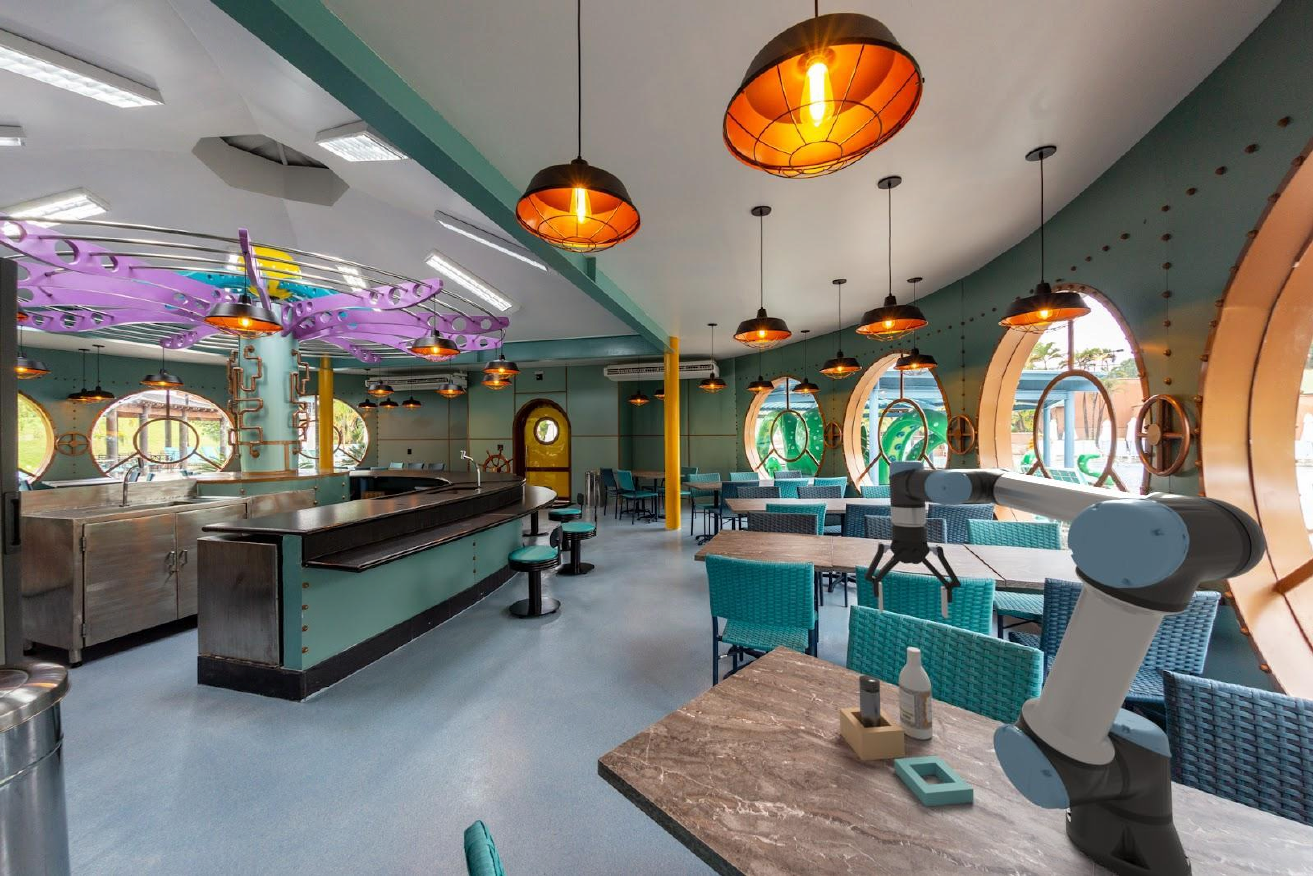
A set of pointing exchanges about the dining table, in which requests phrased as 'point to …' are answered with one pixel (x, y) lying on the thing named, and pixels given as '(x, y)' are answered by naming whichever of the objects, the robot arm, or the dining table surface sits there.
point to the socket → (872, 736)
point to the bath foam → (915, 698)
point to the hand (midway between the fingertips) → (912, 613)
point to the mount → (936, 793)
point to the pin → (869, 701)
